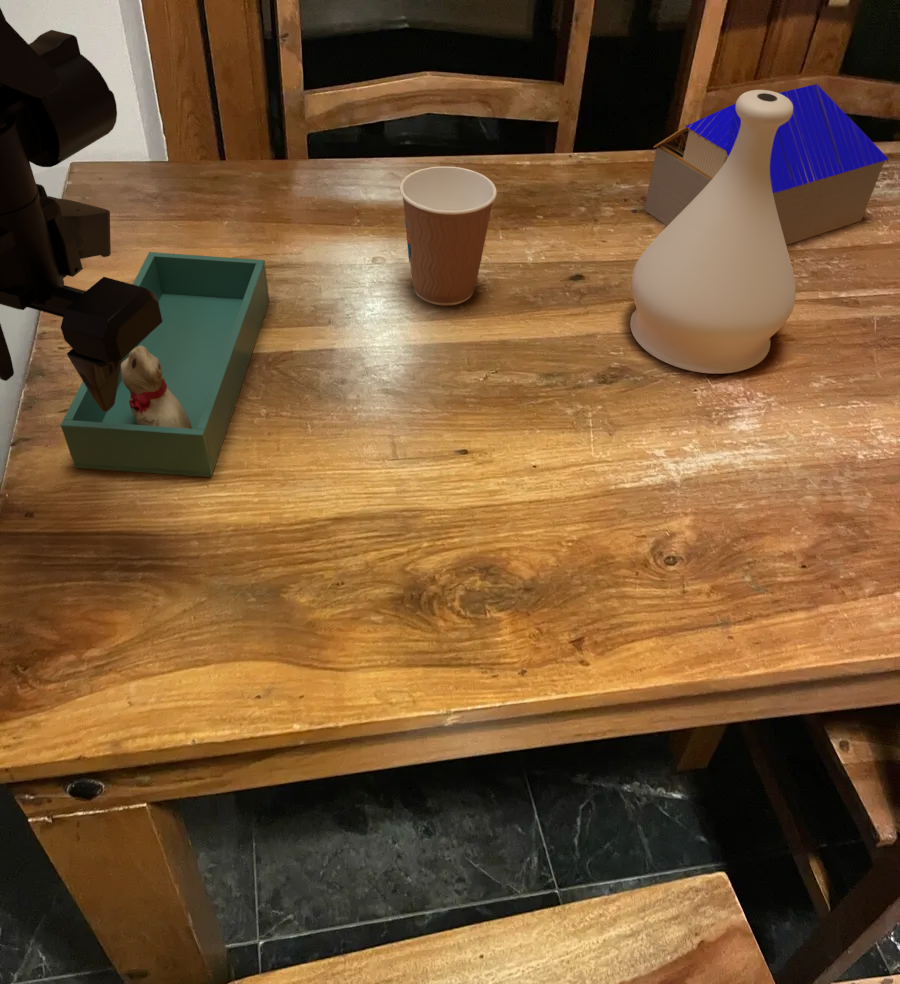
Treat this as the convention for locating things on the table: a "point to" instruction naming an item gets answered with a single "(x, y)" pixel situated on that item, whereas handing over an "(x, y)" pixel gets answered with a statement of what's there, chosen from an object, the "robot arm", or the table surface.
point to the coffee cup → (446, 230)
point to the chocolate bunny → (151, 392)
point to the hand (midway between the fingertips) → (57, 392)
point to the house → (777, 165)
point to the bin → (180, 368)
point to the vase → (721, 260)
